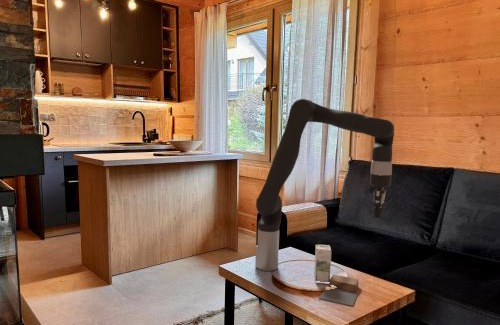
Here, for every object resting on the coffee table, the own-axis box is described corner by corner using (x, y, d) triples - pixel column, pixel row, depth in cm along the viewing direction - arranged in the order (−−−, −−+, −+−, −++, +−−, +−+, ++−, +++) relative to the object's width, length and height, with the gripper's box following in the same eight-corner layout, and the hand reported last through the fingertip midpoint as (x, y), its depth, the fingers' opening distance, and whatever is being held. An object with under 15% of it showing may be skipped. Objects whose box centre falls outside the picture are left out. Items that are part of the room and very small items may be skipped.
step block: (329, 287, 143) (329, 279, 143) (332, 281, 149) (333, 274, 149) (355, 292, 139) (356, 285, 139) (358, 286, 145) (358, 279, 144)
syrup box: (328, 278, 151) (329, 244, 150) (329, 285, 146) (331, 249, 144) (314, 278, 152) (315, 243, 150) (315, 284, 146) (316, 248, 145)
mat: (319, 299, 134) (319, 297, 134) (326, 287, 143) (326, 286, 143) (352, 306, 128) (352, 305, 128) (358, 293, 138) (358, 292, 138)
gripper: (372, 170, 147) (370, 210, 148) (368, 174, 134) (365, 218, 135) (392, 171, 143) (390, 212, 145) (390, 175, 131) (387, 220, 132)
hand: (378, 215), depth 140 cm, fingers open, 8 cm apart
